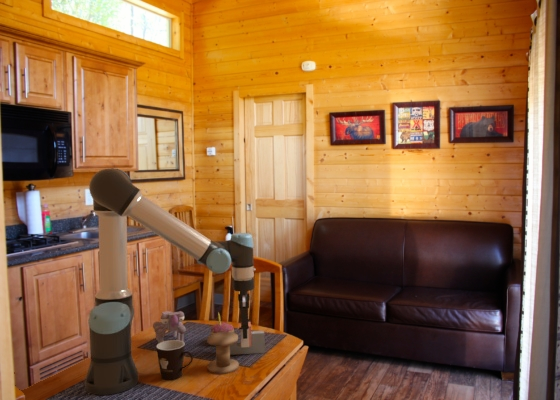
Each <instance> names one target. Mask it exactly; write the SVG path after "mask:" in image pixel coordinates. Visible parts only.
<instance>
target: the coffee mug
mask: <svg viewBox="0 0 560 400" xmlns="http://www.w3.org/2000/svg"><path fill="white" fill-rule="evenodd" d="M185 345H186V344H185V341H184V340H183V341H180V340H176V339H170V340H164V341H163V342H161V343H159V344H158V343H157V344H156V353H157V360H158V364H159V365H158V367H159V373H160V378H161V380H162V381H168V382H171V381H177V380H179V379H181V378H182V376H183V369H185V368H187V367H188V366H190V365H191V364H192V363H193V359H194V357H193V353H191V352H190V351H188V350H187V351H185ZM186 354H187V355H189V357H190V361H189V362H188V363H187V364H186V365H184V357H185V355H186Z"/></svg>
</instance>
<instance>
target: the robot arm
mask: <svg viewBox="0 0 560 400" xmlns="http://www.w3.org/2000/svg"><path fill="white" fill-rule="evenodd" d="M90 179H91V180H90V181H89V186H88V190H89V194H90V196H91V198H92V201H93V203H92V204H93V205H92V206H93V213H95V214H96V215H97V217H98V246H99V247H98V253H99V255H98V256H99V258H98V259H99V260H98V261H99V264H98V265H99V267H98V268H99V289H98V291H97V292H96V293H95V294H94V306H93V308H92V309H91V310H90V311H89V315H88V326H89V351H90V353H89V354H90V364H89V367H88V370H87V374H86V377H85V384H84V385H85V390H86V391H87V392H88V393H90V394H93V395H98V396H99V395H100V396H101V395H102V396H103V395H104V396H107V395H114V394H119V393H122V392H125V391H128V390H130V389H131V388H134V387H135V386H136V385H137V384H138V383H139V380H140V379H139V371H138V369H137V366H136V363H135V361H134V359H133V355H132V333H131V332H132V325H133V320H134V317H135V309H134V304H133V303H134V302H133V301H134V300H133V298H134V297H133V291H132V290H131V289H130V288H128V287H129V285H128V284H129V283H128V225H127V224H128V220H127V219H128V218H127V217H129V218H130V219H132V220H133V221H135V222H136V223H137V224H140V225H141V226H142V227H143V228H146V229H147V230H149V231H151V233H153V234H155V235H157V236H159V237H160V238H162V239H163V240H165V241H166V242H168V243H170V244H171V245H172V246H174V247H176V248H177V249H179V250H181V251H182V252H183V253H185V254H187V255H188V256H190V257H191V258H193V259H195V260H196V263H197V264H198V265H203V266H205V267H206V268H207V269H209V270H210V271H211V272H212V273H213V274H223V273H225V272H227V271H228V270H229V269H230V267H231V278H232V290H233V291H234V292H239V293H238V294H237V300H238V301H237V302H238V308H239V309H240V327H238V330H240V343H241V348H242V347H249V326H248V322H251V320H250V318H249V308H250V293H248V292H250V291H253V290H254V289H255V278H254V276H255V273H254V272H255V271H256V268H255V266H254V248H255V247H254V243H253V242H254V240H253V236H252V234H250V233H249V232H247V233H246V232H238V233H232V234H231V236H230V239H228V240H217V241H216V240H211V239H210V238H208V237H206V236H205V235H203V234H202V233H200V232H199V231H197V230H196V229H195V228H193V227H192V226H191V225H188V224H186V223H185V222H184V221H183V220H181V219H179V218H178V217H176V216H175V215H173V214H171V212H168V211H167V210H166V209H164V208H162V207H161V206H160V205H158V204H157V203H155V202H153V201H152V200H151V199H149V198H147V197H145V196H144V195H143V193H142V190H141V189H140V188H139V187H137V186H135V185H134V184H133V183H132V179H131V178H130V176H129V175H128V173H126V172H125V171H123V170H121V169H118V168H114V167H112V168H111V167H110V168H104V169H100V170H99V171H97V172H95V174H93V176H92V177H91V178H90Z"/></svg>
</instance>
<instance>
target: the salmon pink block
mask: <svg viewBox="0 0 560 400" xmlns="http://www.w3.org/2000/svg"><path fill="white" fill-rule="evenodd" d="M251 323H252V322H251V321H250V322H248V326H249V346H251V331H252V324H251Z"/></svg>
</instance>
